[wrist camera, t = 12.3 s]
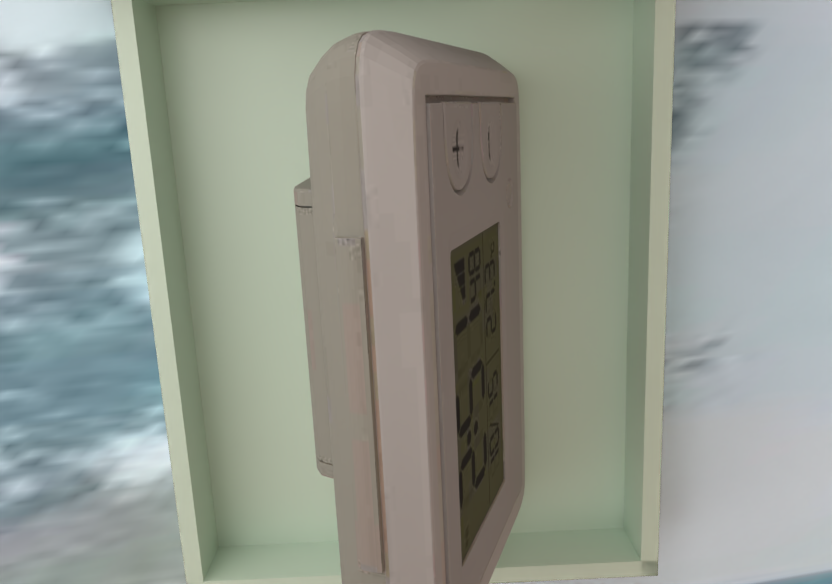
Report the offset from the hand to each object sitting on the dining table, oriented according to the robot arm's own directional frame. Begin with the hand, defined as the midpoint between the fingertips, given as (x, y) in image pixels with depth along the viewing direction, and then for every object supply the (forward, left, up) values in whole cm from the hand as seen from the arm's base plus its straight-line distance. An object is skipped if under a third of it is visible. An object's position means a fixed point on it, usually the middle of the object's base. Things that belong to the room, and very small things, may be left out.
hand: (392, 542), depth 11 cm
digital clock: (+1, 0, -16) cm, 16 cm away
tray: (0, 0, -17) cm, 17 cm away
